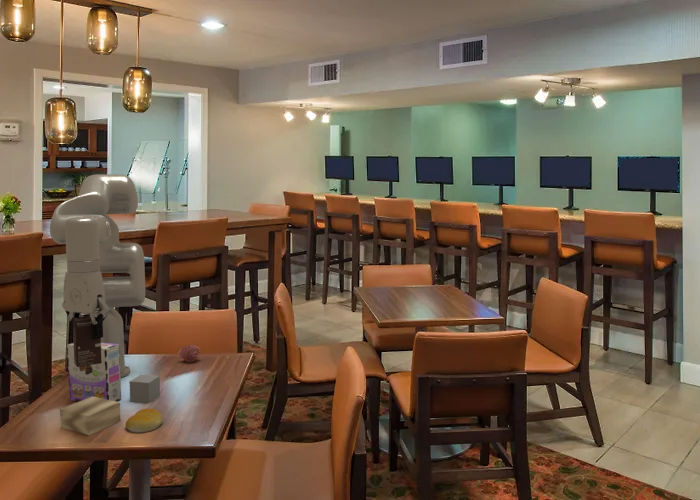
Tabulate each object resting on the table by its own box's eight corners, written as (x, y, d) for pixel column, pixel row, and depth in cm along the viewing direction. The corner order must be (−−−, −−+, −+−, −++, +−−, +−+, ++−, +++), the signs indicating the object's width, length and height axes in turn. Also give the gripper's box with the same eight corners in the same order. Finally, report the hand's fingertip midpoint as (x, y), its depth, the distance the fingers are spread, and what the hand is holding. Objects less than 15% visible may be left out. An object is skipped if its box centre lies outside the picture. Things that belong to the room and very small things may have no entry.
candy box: (122, 399, 173) (120, 343, 171) (108, 406, 168) (105, 348, 166) (84, 393, 178) (81, 339, 176) (68, 400, 172) (65, 344, 170)
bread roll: (119, 432, 151) (119, 417, 151) (140, 418, 160) (139, 403, 159) (149, 435, 149) (148, 420, 149) (168, 421, 158) (168, 406, 157)
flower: (195, 349, 203) (194, 336, 207) (174, 358, 203) (172, 346, 207) (206, 361, 209) (204, 349, 213) (185, 370, 209) (183, 358, 213)
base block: (61, 428, 153) (60, 409, 152) (93, 414, 162) (92, 396, 161) (89, 435, 149) (88, 415, 148) (120, 420, 158) (119, 402, 157)
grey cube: (130, 401, 171) (129, 381, 171) (141, 394, 177) (140, 374, 176) (149, 403, 170) (148, 382, 169) (160, 395, 176) (159, 376, 175)
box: (77, 368, 150) (74, 320, 149) (74, 363, 154) (71, 317, 152) (103, 364, 153) (100, 317, 152) (99, 359, 157) (96, 314, 156)
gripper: (46, 266, 151) (50, 336, 153) (96, 271, 143) (100, 344, 146) (71, 262, 158) (75, 329, 160) (120, 267, 150) (123, 337, 152)
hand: (87, 336), depth 153 cm, fingers closed on box, 6 cm apart
